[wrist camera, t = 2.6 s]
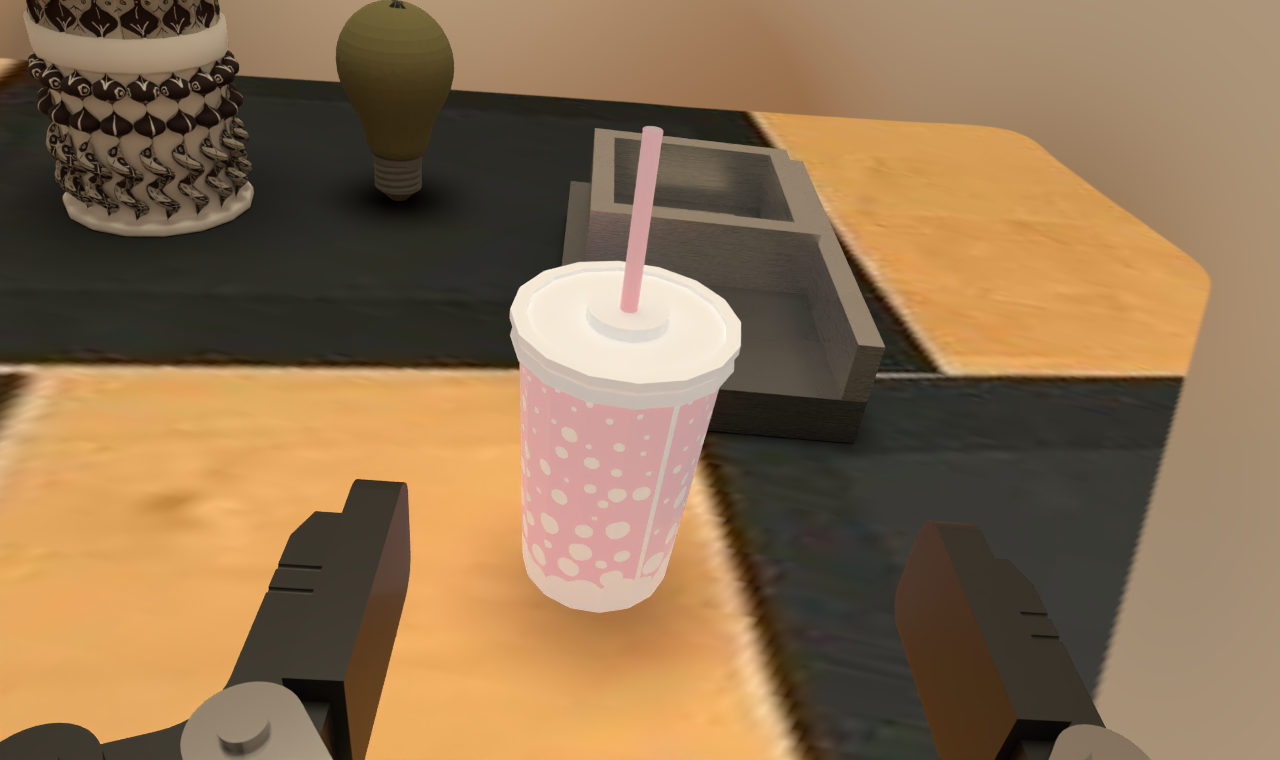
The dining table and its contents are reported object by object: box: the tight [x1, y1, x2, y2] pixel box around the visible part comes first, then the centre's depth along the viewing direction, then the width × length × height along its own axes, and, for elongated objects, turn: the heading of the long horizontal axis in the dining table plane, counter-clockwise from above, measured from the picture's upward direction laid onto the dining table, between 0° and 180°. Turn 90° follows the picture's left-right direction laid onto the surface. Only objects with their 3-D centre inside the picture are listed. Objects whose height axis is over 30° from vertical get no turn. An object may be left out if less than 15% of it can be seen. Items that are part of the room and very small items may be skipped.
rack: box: [562, 128, 885, 443], centre depth 41 cm, size 12×18×5 cm, turn 1°
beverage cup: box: [510, 126, 741, 613], centre depth 25 cm, size 6×6×14 cm
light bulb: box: [336, 0, 454, 201], centre depth 46 cm, size 6×6×10 cm
